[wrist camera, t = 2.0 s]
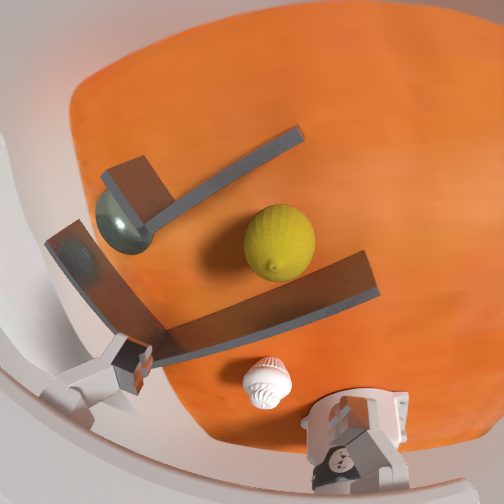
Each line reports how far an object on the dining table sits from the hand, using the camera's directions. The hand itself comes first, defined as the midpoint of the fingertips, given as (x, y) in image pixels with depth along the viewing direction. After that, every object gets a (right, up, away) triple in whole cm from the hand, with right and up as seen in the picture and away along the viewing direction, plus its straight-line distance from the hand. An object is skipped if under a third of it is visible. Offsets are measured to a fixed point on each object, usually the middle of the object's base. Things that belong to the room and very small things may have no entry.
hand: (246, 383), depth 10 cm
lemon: (+3, +8, +15) cm, 17 cm away
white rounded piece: (+3, -9, +25) cm, 26 cm away
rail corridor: (-5, +7, +17) cm, 19 cm away
